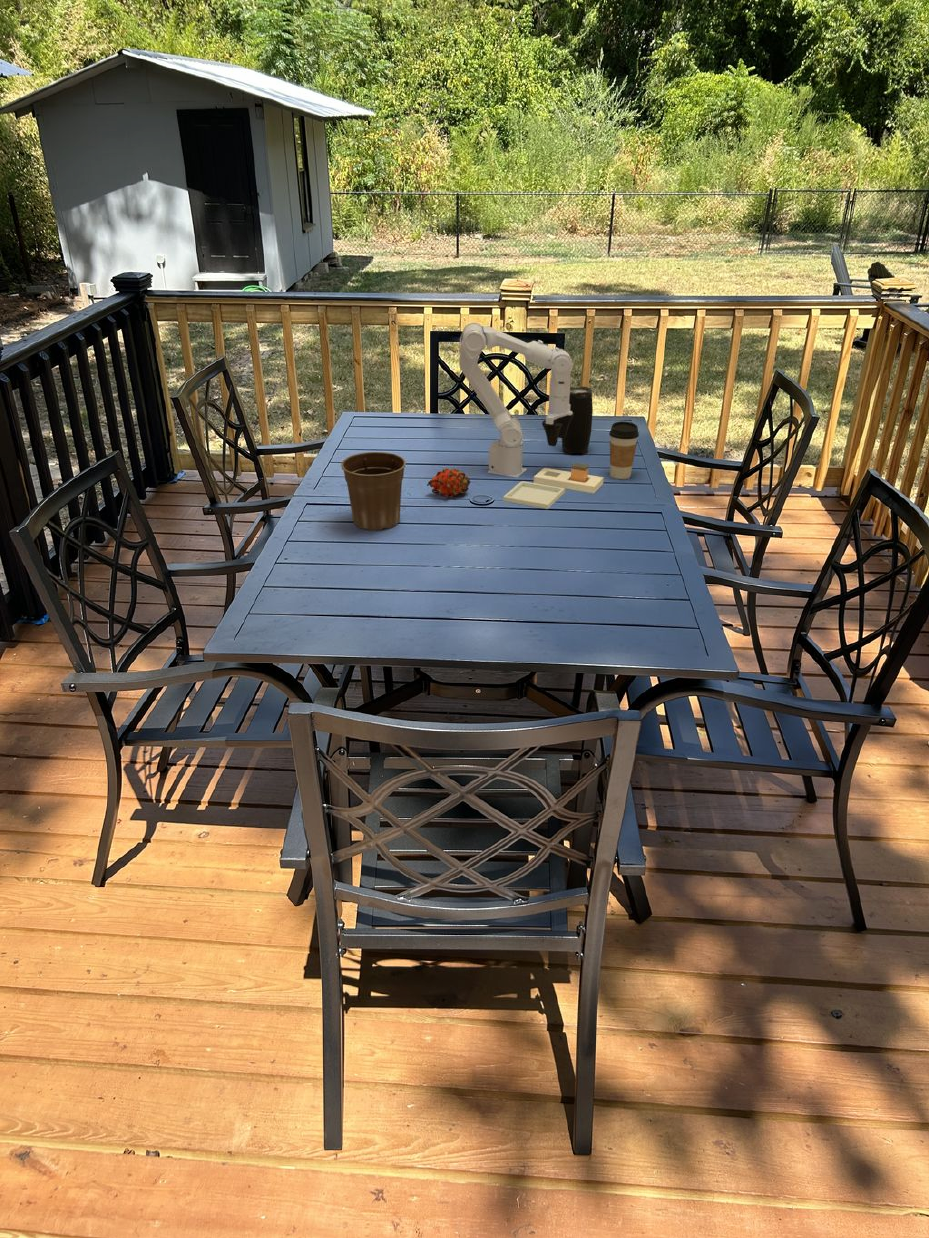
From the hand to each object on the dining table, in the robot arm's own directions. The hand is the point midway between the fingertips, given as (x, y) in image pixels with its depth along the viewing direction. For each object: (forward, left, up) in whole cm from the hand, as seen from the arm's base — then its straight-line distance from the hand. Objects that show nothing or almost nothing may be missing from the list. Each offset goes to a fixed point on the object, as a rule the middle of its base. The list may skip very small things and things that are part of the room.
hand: (556, 441), depth 262 cm
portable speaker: (-1, +20, -10) cm, 22 cm away
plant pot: (-29, -54, -10) cm, 62 cm away
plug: (+10, -8, -9) cm, 16 cm away
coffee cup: (+18, +6, -10) cm, 21 cm away
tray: (+2, -22, -9) cm, 24 cm away
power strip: (+7, -8, -9) cm, 14 cm away
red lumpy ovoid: (-20, -30, -10) cm, 37 cm away
